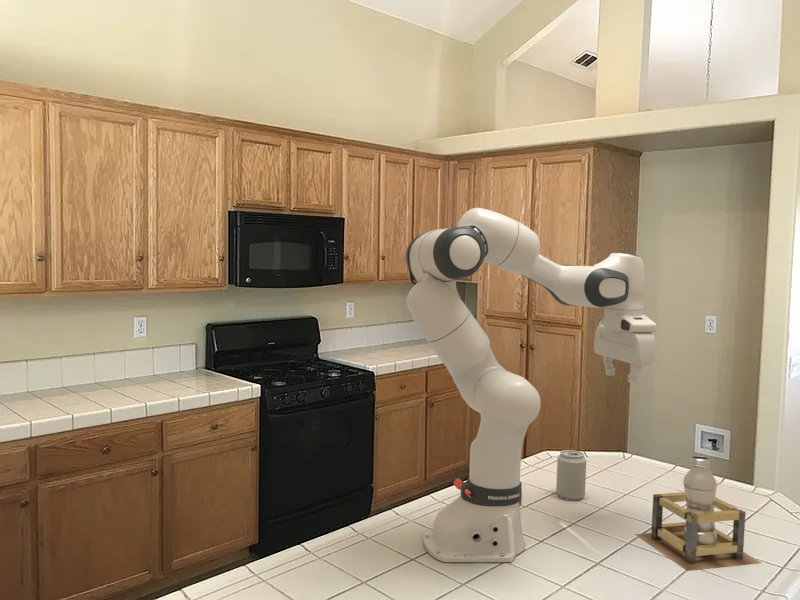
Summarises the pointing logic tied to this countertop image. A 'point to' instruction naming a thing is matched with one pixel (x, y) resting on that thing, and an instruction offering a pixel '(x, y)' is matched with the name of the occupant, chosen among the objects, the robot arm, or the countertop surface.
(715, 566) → the walnut board
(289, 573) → the countertop surface
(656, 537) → the frame
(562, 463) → the can
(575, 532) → the countertop surface
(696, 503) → the plastic bottle
